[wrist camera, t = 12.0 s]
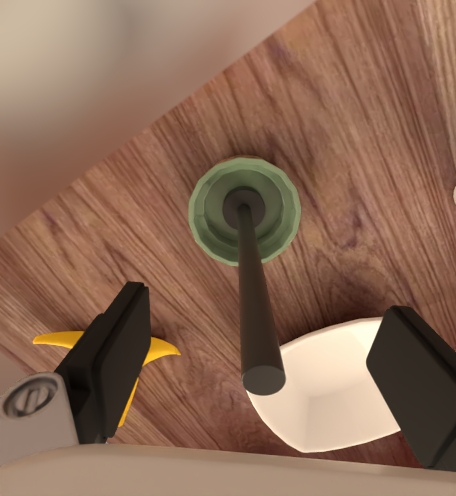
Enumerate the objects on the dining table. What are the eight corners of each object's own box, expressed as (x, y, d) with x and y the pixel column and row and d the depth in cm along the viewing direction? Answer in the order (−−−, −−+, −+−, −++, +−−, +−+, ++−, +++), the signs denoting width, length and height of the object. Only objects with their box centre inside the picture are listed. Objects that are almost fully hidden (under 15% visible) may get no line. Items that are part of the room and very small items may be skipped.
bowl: (377, 273, 32) (403, 298, 27) (421, 384, 39) (447, 419, 34) (224, 339, 36) (222, 370, 32) (288, 427, 44) (295, 463, 39)
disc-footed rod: (224, 184, 27) (196, 318, 7) (266, 187, 27) (352, 331, 7) (221, 223, 29) (191, 421, 9) (260, 227, 29) (317, 431, 9)
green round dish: (196, 150, 27) (190, 152, 22) (299, 159, 27) (311, 163, 23) (193, 245, 31) (187, 261, 27) (282, 252, 31) (289, 270, 27)
